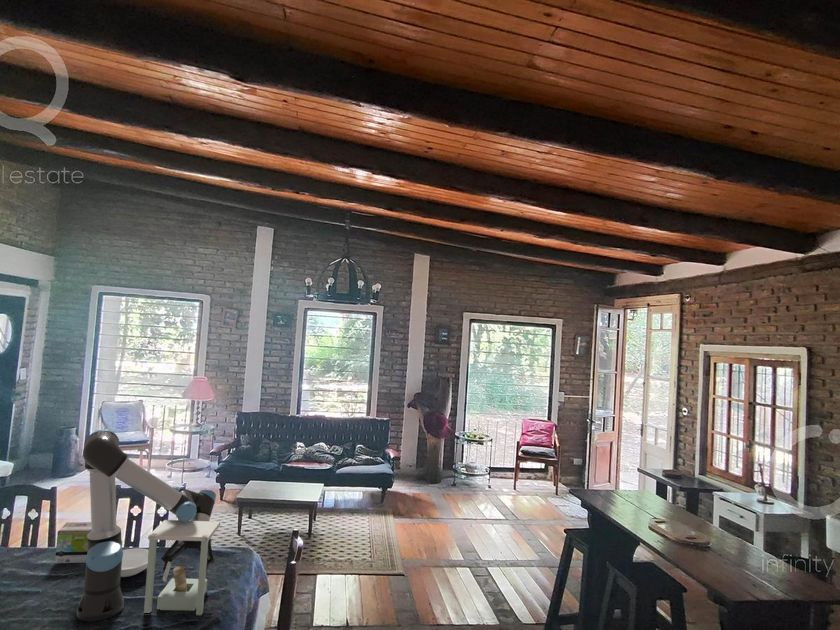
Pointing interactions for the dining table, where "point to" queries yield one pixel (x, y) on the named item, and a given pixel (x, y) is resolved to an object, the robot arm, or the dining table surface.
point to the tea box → (72, 542)
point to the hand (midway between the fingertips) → (182, 580)
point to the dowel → (180, 579)
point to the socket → (169, 595)
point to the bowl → (134, 561)
